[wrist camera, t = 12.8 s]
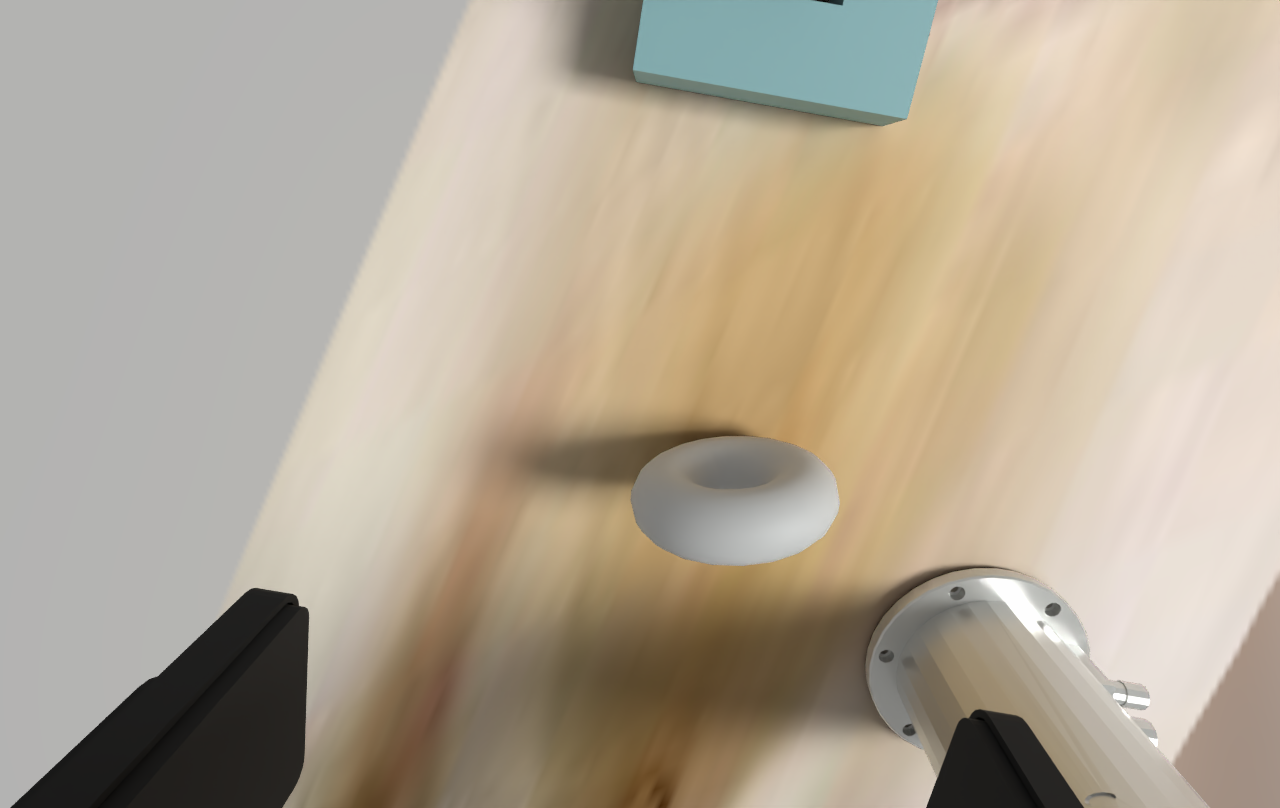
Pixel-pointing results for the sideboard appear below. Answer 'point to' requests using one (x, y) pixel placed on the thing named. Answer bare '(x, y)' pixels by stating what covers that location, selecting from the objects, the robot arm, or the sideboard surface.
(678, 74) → the slot block
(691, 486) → the donut
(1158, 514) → the sideboard surface
